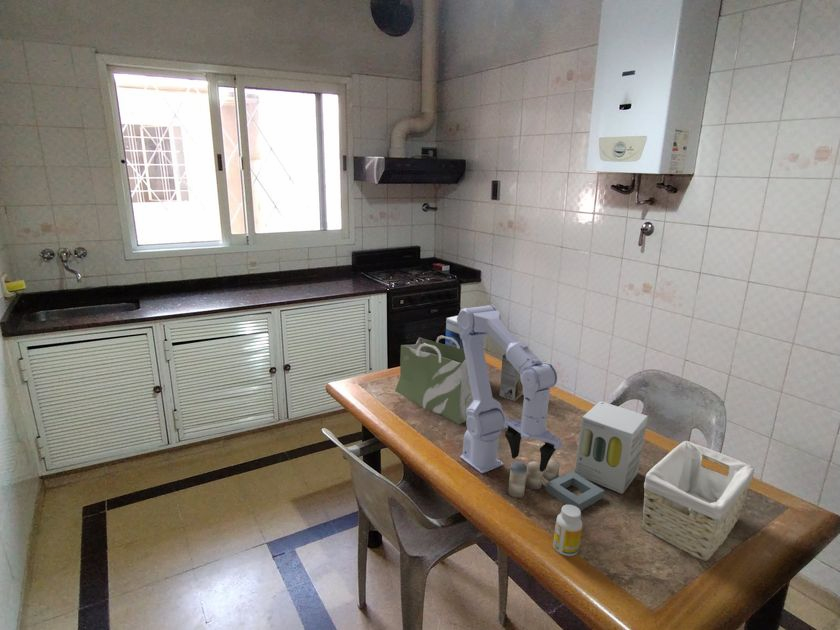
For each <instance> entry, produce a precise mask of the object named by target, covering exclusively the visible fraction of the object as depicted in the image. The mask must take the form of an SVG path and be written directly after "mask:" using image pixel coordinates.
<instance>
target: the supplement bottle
mask: <svg viewBox="0 0 840 630" xmlns="http://www.w3.org/2000/svg"><path fill="white" fill-rule="evenodd" d="M581 511H582V510H581ZM581 511H580V509H579V508H578V507H576V506H574V505H568V504H567V505H566V504H565V505H563V506H561V510H560V513H559V514H557V516H556V520H555V527H554V534H553V541H552V542H553V543H552V544H553V548H554V550H555V551H556V552H557V553H558V554H560V555H563V556H567V557H572V556H575V555H577V553H578V552H579V550H580V543H581V536H582V532H583V531H582V530H583V521H582V519H581V517H582V512H581Z"/></svg>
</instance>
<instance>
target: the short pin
mask: <svg viewBox="0 0 840 630" xmlns="http://www.w3.org/2000/svg"><path fill="white" fill-rule="evenodd" d="M560 465H561V464H560V462H559V461H557V460H555V459H552V458H550V460H549V462H548V464H547V467H546V469H545V470H544V471H543V478H544V479H545V480H547V481H549V482H550V481H552V480H554V479H556V478H558V477H559V473H560Z"/></svg>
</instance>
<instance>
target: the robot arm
mask: <svg viewBox="0 0 840 630" xmlns="http://www.w3.org/2000/svg"><path fill="white" fill-rule="evenodd" d="M457 316H458V317H457V323H458V328H459V334H460V339H462V342H463V347H464V353H465V358H466V364H467V369H468V374H469V380H470V385H471V391H472V396H473V402H472V403H471V405H470V406H469V407H468V408H467V410H466V413H467V420H466V421H465V422H466V424H465V425H466V428H467V429H466V431H465V433H464V435H463V441H462V442H463V444H462V454H461V455H460V456H459V457H460V458H461V460H463V461H464V462H466V463H467V464H468V465H470V466H471V467H472V468H473V469H475V470H477V471H478V472H479V473H480V474H486V473H487V472H490V471H491V470H494V469H497V468H499V467H502V466H503V465H504V462H502V461H500V459H498V450H499V449H498V448H499V439H500V437H499V436H500V435H502V431H503V430H505V429H507V430H506V431H505V432H504V436H505V438H506V440H507V442H508V444H509V445H508V446H509V449H510V455H511V459H513V460H515V459H516V458H517V457H519V454H520V447H521V441H522V439H525V440H530V439H531V440H535V441H540V442H542V443H544V444H543V445H541V446H540V448H539V451H540V452H539V453H540V462H539V463H540V471H541V472H543V471H544V470H545V469H546V467H547V464H548V462H549V460H550V459H552V456H553V455H554V453H555V452H556V451H557V450H559V449H561V448H562V447H563V438H561V437H558V436H557V435H555V434H553V433H552V432H551V431H549V430H547V428H546V426H547V417H548V410H549V403H550V393H551V388H553V387H555V386H556V384H557V382H558V372H557V371H556V369H555V368H554V366H553V364H552V363H550V362H545V361H544V360H540V359H539V357H538V356H536V354H535V353H534V352H533V351H532V350H531V349H530V348H529V345H528V344H527V343H525V342H523V341H517V340H516V339H515V337H514V336H513V335H512V333H511V332H510V330H509V329H508V328H507V326H506V325H505V324H504V323H503V321H502V315H501V312H500V311H499V310H498V308H497V307H496V306H495V305H494V304H488V305H482V306H481V305H480V306H475V307H474V306H473V307H468V308H467V307H463V308H461V309H460V311H459V313H458V315H457ZM488 335H489V336H491V337H492V338H493V340H494V341H495V342H496V343H498V344H499V346H501V347H502V348H503V350H505V354H506V358H507V360H508V361H509V362H510V363H511V364H512V366H513V367H514V368H515V369H516V370H517V371H518V373H519V374H520V379H521V383H522V386H523V395H522V396H523V403H522V411H521V419H520V420H518V419H514V418H510V417H506V414H505V412H504V411H503V407H502V404H501V403H500V402H499V401H498V400H497V399H495V398H494V397H493V393H492V387H491V382H490V377H489V371H488V366H487V360H486V355H485V351H484V350H485V349H484V344H483V341H484V339H485V338H486V336H488ZM482 411H483V412H482Z"/></svg>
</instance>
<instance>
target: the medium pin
mask: <svg viewBox="0 0 840 630" xmlns="http://www.w3.org/2000/svg"><path fill="white" fill-rule="evenodd" d="M543 478H544V477H543V472H541V471H540V462H539V461H534V460H533V461H529V462H527V473H526V482H525V486H527V487H528V488H530V489H531V490H532V489H533V490H539V489H541V488H542V485H543Z"/></svg>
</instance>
